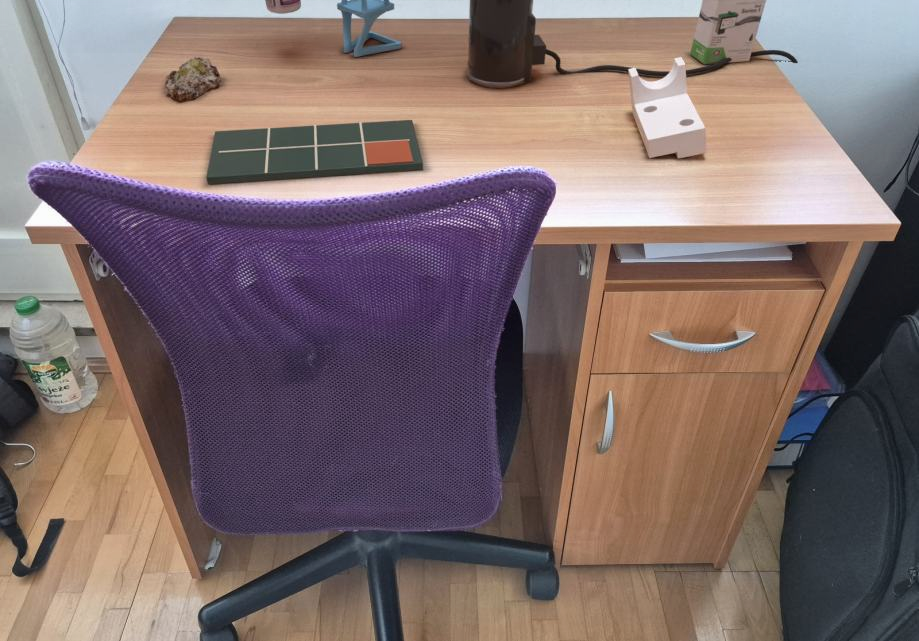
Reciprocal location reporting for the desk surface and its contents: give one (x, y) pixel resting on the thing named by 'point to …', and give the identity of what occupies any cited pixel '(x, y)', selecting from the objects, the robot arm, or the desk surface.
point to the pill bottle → (283, 6)
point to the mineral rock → (192, 79)
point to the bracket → (667, 114)
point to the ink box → (726, 30)
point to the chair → (365, 25)
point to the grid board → (313, 151)
